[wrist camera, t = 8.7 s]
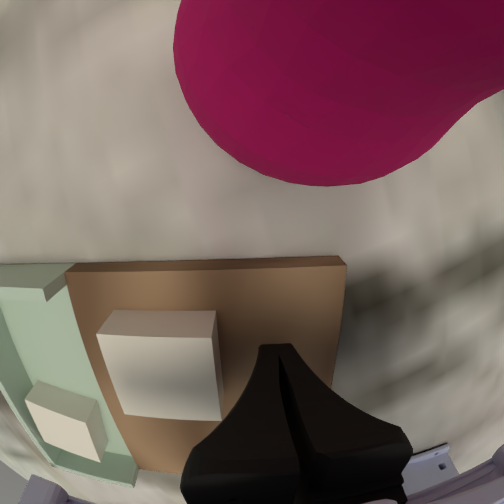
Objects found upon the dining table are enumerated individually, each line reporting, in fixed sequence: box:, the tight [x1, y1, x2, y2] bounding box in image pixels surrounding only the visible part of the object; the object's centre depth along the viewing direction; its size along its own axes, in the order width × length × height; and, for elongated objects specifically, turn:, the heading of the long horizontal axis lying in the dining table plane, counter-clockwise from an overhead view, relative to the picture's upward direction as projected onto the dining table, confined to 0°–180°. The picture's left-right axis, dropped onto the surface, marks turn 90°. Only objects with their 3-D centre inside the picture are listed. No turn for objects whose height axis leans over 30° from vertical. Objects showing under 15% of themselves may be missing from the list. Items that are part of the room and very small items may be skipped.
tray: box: [0, 263, 139, 488], centre depth 13 cm, size 7×15×3 cm, turn 1°
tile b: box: [96, 310, 224, 421], centre depth 12 cm, size 4×4×2 cm
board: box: [64, 256, 347, 474], centre depth 14 cm, size 12×15×1 cm
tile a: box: [24, 380, 109, 463], centre depth 14 cm, size 4×4×2 cm
